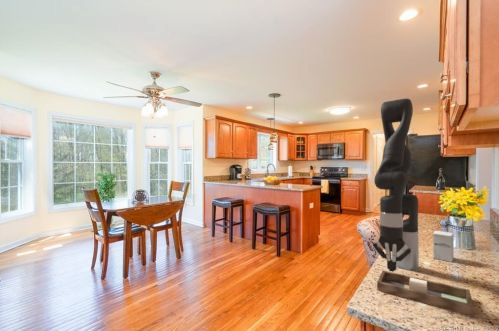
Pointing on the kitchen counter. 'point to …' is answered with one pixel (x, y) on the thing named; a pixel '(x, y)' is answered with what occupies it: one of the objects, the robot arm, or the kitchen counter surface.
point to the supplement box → (443, 245)
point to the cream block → (418, 285)
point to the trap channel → (428, 293)
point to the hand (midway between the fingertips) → (391, 270)
